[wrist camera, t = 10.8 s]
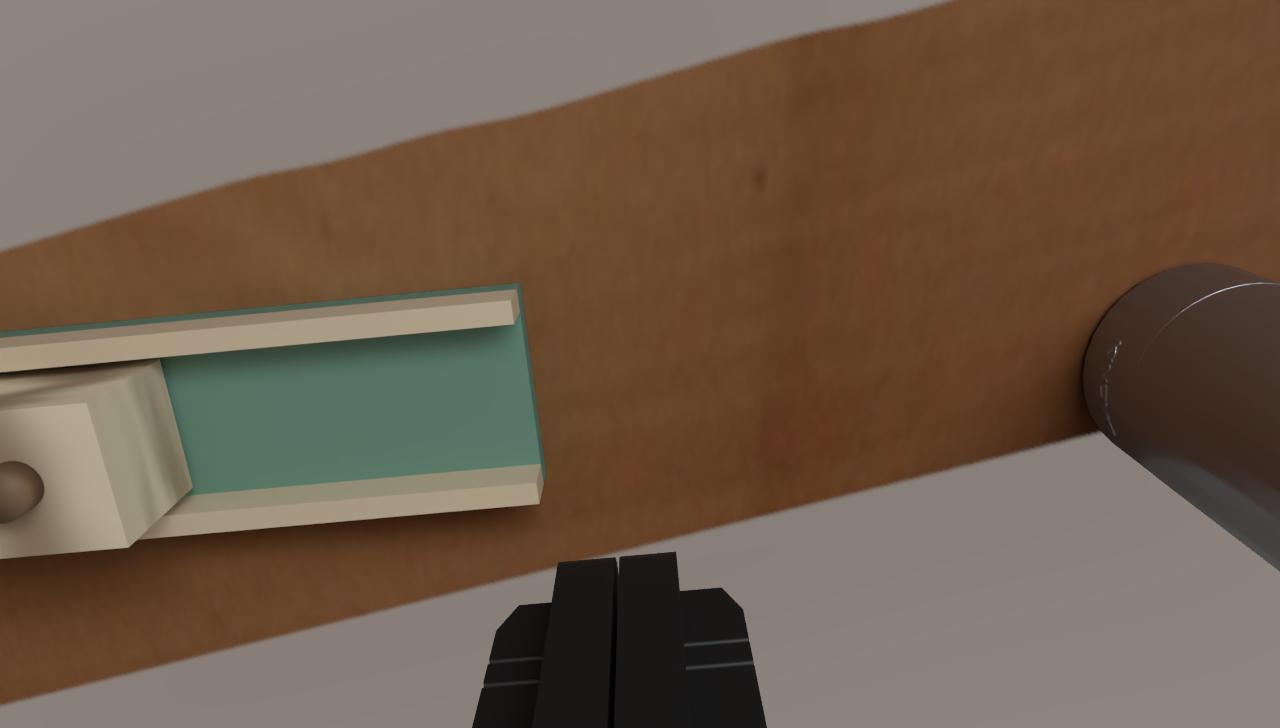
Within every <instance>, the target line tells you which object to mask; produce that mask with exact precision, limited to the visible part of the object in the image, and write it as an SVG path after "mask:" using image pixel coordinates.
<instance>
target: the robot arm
mask: <svg viewBox="0 0 1280 728" xmlns="http://www.w3.org/2000/svg"><path fill="white" fill-rule="evenodd" d="M1083 387H1084V397H1085V400H1086V403H1087V406H1088V410H1089V413H1090V415H1091V417H1092V418H1093V420H1094V421H1095V423H1096V425H1097V426H1098V428H1099V430H1100V431H1101V432H1102V433H1103V434H1105V436H1106V437H1107V438H1109V440H1110V441H1111V442H1112V443H1114V444H1115V445H1116V446H1117V447H1119V448H1120V449H1121V450H1123V451H1124V452H1125V453H1127V454H1128V455H1129V456H1131V457H1132V458H1133V459H1134V460H1136V461H1137V462H1138V463H1140V464H1141V465H1142V466H1143V467H1145V468H1146V469H1147V470H1149V471H1150V472H1151V473H1153V474H1154V475H1155V476H1156V477H1157V478H1158V479H1160V480H1161V481H1163V482H1164V483H1165V484H1166V485H1168V486H1169V487H1170V488H1171V489H1173V490H1174V491H1175V492H1177V493H1178V494H1179V495H1181V496H1182V497H1183V498H1185V499H1186V500H1187V501H1188V502H1190V503H1191V504H1192V505H1194V506H1195V507H1196V508H1198V509H1199V510H1200V511H1201V512H1203V513H1204V514H1205V515H1207V516H1208V517H1209V518H1211V519H1212V520H1213V521H1215V522H1216V523H1217V524H1219V525H1220V526H1221V527H1222V528H1224V529H1225V530H1226V531H1228V532H1229V533H1230V534H1232V535H1233V536H1234V537H1236V538H1237V539H1238V540H1239V541H1241V542H1242V543H1243V544H1245V545H1246V546H1247V547H1249V548H1250V549H1251V550H1252V551H1254V552H1255V553H1256V554H1258V555H1259V556H1260V557H1262V558H1263V559H1264V560H1265V561H1267V562H1268V563H1270V564H1271V565H1272V566H1273V567H1275V568H1276V569H1277V570H1279V571H1280V282H1278V281H1275V280H1272V279H1269V278H1265V277H1262V276H1259V275H1256V274H1253V273H1250V272H1247V271H1244V270H1240V269H1237V268H1234V267H1231V266H1225V265H1217V264H1210V263H1206V264H1194V265H1184V266H1181V267H1177V268H1174V269H1170V270H1167V271H1163V272H1161V273H1159V274H1157V275H1155V276H1153V277H1151V278H1149V279H1147V280H1145V281H1143V282H1141V283H1140V284H1139V285H1137V286H1136V287H1135V288H1133V289H1132V290H1131V291H1129V292H1128V293H1127V294H1125V295H1124V296H1123V297H1122V298H1121V299H1120V300H1119V301H1118V302H1117V303H1116V304H1115V305H1114V306H1113V307H1112V308H1111V310H1110V311H1109V312H1108V313H1107V314H1106V315H1105V317H1104V319H1103V320H1102V322H1101V323H1100V325H1099V326H1098V328H1097V330H1096V331H1095V333H1094V335H1093V338H1092V340H1091V343H1090V345H1089V348H1088V351H1087V353H1086V358H1085V364H1084V370H1083ZM489 660H490V664H488V667H487V670H486V674H485V678H484V688H482V691H481V694H480V698H479V702H478V706H477V710H476V714H475V718H474V722H473V726H472V728H767V726H766V721H765V716H764V711H763V706H762V701H761V696H760V691H759V686H758V681H757V676H756V671H755V666H754V664H753V657H752V652H751V647H750V642H749V638H748V632H747V627H746V622H745V617H744V612H743V609H742V608H741V607H740V606H739V605H738V604H737V603H736V602H735V601H734V600H733V599H732V598H731V597H730V596H729V595H728V594H727V593H726V592H725V591H724V590H723V589H722V588H711V589H699V590H688V591H680V589H679V578H678V567H677V557H676V552H668V553H657V554H646V555H634V556H622V557H620V560H619V574H618V567H617V561H616V558H615V557H613V558H602V559H590V560H579V561H567V562H559V563H558V566H557V572H556V579H555V585H554V591H553V597H552V602H551V603H540V604H528V605H519V606H518V607H517V608H516V609H515V610H514V611H513V613H512V614H511V615H510V616H509V617H508V618H507V619H506V620H505V622H504V623H503V624H502V625H501V626H500V627H499V628H498V629H497V631H496V634H495V638H494V642H493V646H492V650H491V654H490V658H489Z"/></svg>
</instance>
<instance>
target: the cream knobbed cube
mask: <svg viewBox="0 0 1280 728" xmlns="http://www.w3.org/2000/svg"><path fill="white" fill-rule="evenodd" d="M192 488H193V485H192V481H191V477H190V473H189V469H188V466H187V462H186V458H185V454H184V450H183V446H182V443H181V439H180V435H179V431H178V427H177V424H176V420H175V416H174V412H173V408H172V404H171V401H170V397H169V393H168V389H167V385H166V382H165V378H164V374H163V370H162V366H161V362H160V359H155V360H145V361H134V362H123V363H112V364H102V365H91V366H80V367H70V368H59V369H48V370H38V371H27V372H16V373H6V374H0V559H5V558H16V557H28V556H39V555H50V554H62V553H73V552H84V551H95V550H107V549H118V548H129V547H130V546H131V545H132V544H133V543H134V542H135V541H136V540H137V539H138V538H139V537H140V536H142V535H143V534H144V533H145V532H146V531H147V530H148V529H149V528H150V527H151V526H152V525H153V524H154V523H155V522H157V521H158V520H159V519H160V518H161V517H162V516H163V515H164V514H165V513H166V512H167V511H168V510H169V509H170V508H172V507H173V506H174V505H175V504H176V503H177V502H178V501H179V500H180V499H181V498H182V497H183V496H184V495H185V494H187V493H188V492H189V491H190V490H191V489H192Z"/></svg>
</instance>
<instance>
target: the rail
mask: <svg viewBox="0 0 1280 728" xmlns="http://www.w3.org/2000/svg"><path fill="white" fill-rule="evenodd" d="M155 359H160V362H161V366H162V370H163V374H164V378H165V382H166V385H167V389H168V393H169V397H170V401H171V404H172V408H173V412H174V416H175V420H176V424H177V427H178V431H179V435H180V439H181V443H182V446H183V450H184V454H185V458H186V462H187V466H188V469H189V473H190V477H191V481H192V485H193V488H192V489H191V490H190V491H189V492H188V493H187V494H185V495H184V496H183V497H182V498H181V499H180V500H179V501H178V502H177V503H176V504H175V505H174V506H173V507H172V508H170V509H169V510H168V511H167V512H166V513H165V514H164V515H163V516H162V517H161V518H160V519H159V520H158V521H157V522H155V523H154V524H153V525H152V526H151V527H150V528H149V529H148V530H147V531H146V532H145V533H144V534H143V535H142V536H140V537H139V538H138V539H137V540H139V539H151V538H162V537H173V536H184V535H196V534H207V533H218V532H229V531H241V530H252V529H263V528H274V527H286V526H297V525H308V524H319V523H331V522H342V521H353V520H364V519H376V518H387V517H398V516H409V515H421V514H432V513H443V512H454V511H466V510H477V509H488V508H499V507H511V506H522V505H533V504H539V503H540V499H541V494H542V490H543V485H544V481H545V476H546V468H545V461H544V454H543V446H542V439H541V432H540V425H539V417H538V410H537V403H536V395H535V388H534V381H533V373H532V366H531V359H530V351H529V344H528V337H527V329H526V322H525V315H524V307H523V300H522V293H521V285H520V283H515V284H504V285H494V286H483V287H473V288H462V289H452V290H441V291H430V292H420V293H409V294H399V295H388V296H378V297H367V298H356V299H346V300H335V301H325V302H314V303H304V304H293V305H282V306H272V307H261V308H251V309H240V310H230V311H219V312H208V313H198V314H187V315H177V316H166V317H156V318H145V319H134V320H124V321H113V322H103V323H92V324H82V325H71V326H60V327H50V328H39V329H29V330H18V331H8V332H0V374H6V373H16V372H27V371H38V370H48V369H59V368H70V367H80V366H91V365H102V364H112V363H123V362H134V361H145V360H155Z"/></svg>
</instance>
